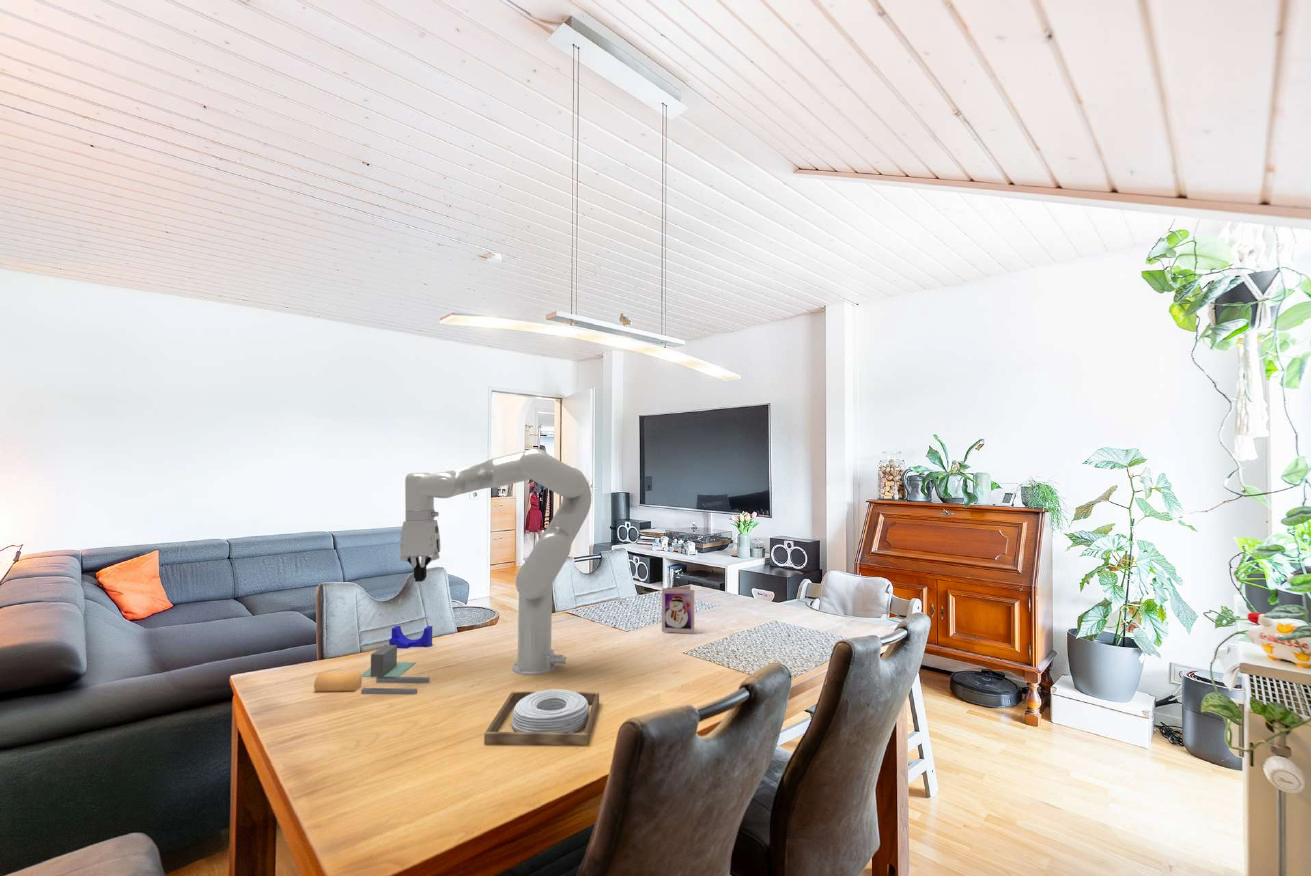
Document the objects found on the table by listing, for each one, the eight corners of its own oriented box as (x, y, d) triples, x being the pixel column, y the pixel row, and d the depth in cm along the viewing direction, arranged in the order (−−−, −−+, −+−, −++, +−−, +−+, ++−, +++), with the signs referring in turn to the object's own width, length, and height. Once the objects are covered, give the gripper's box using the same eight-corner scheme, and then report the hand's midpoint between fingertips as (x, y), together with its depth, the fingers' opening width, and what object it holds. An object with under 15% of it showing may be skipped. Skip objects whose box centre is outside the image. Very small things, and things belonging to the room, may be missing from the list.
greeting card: (661, 632, 203) (661, 589, 203) (664, 626, 210) (664, 584, 210) (694, 634, 201) (694, 590, 201) (696, 627, 208) (696, 585, 209)
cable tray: (599, 706, 143) (599, 692, 143) (586, 751, 121) (586, 734, 121) (511, 705, 143) (512, 691, 143) (484, 750, 122) (484, 733, 122)
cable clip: (389, 648, 185) (389, 630, 185) (395, 644, 190) (396, 625, 190) (426, 649, 185) (426, 630, 185) (432, 644, 189) (432, 626, 190)
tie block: (396, 665, 169) (397, 645, 169) (383, 676, 161) (383, 654, 161) (384, 665, 169) (385, 644, 169) (370, 676, 161) (371, 654, 161)
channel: (429, 682, 157) (429, 677, 157) (415, 696, 148) (415, 690, 148) (378, 682, 158) (378, 676, 158) (361, 695, 149) (361, 689, 149)
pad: (415, 663, 172) (415, 662, 172) (398, 678, 161) (398, 676, 161) (378, 663, 172) (378, 661, 172) (359, 677, 161) (359, 676, 161)
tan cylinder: (362, 682, 155) (360, 669, 154) (355, 695, 151) (352, 681, 149) (324, 683, 155) (321, 669, 153) (315, 696, 150) (312, 682, 149)
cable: (551, 754, 120) (552, 725, 121) (494, 732, 130) (494, 705, 130) (603, 722, 135) (604, 696, 135) (548, 704, 145) (548, 680, 145)
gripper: (450, 514, 169) (451, 577, 169) (399, 515, 169) (399, 578, 169) (441, 517, 162) (441, 583, 161) (387, 518, 162) (387, 584, 161)
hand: (420, 580), depth 165 cm, fingers closed
